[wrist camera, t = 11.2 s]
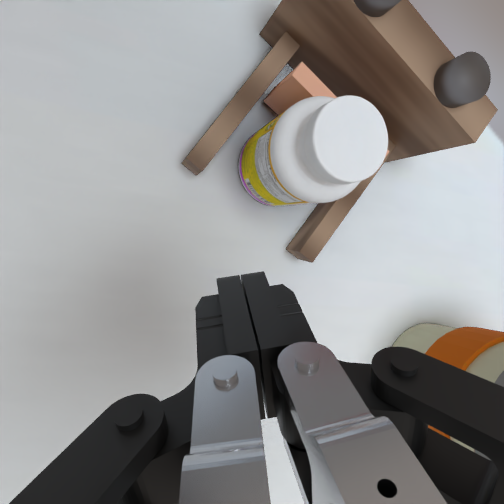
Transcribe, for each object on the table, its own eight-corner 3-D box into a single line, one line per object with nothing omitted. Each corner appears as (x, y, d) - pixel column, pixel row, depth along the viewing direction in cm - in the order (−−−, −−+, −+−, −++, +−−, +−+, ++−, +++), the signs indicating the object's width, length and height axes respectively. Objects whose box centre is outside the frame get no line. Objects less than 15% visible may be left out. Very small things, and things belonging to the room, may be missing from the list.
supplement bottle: (308, 130, 34) (407, 81, 21) (308, 206, 34) (403, 200, 22) (234, 126, 32) (296, 69, 20) (236, 206, 32) (296, 200, 20)
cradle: (309, 268, 35) (390, 292, 24) (166, 150, 30) (183, 112, 19) (403, 137, 36) (519, 103, 25) (280, 7, 32) (356, -104, 21)
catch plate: (339, 173, 34) (380, 164, 28) (263, 100, 31) (291, 75, 26) (346, 162, 34) (389, 151, 28) (271, 89, 31) (302, 61, 26)
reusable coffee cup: (475, 402, 42) (649, 498, 28) (377, 440, 39) (519, 571, 24) (464, 293, 40) (645, 334, 26) (361, 323, 37) (503, 390, 23)
